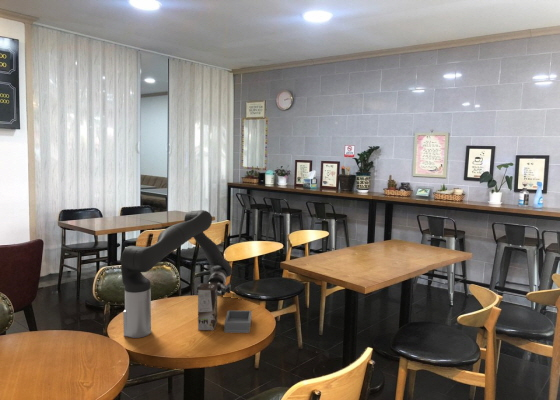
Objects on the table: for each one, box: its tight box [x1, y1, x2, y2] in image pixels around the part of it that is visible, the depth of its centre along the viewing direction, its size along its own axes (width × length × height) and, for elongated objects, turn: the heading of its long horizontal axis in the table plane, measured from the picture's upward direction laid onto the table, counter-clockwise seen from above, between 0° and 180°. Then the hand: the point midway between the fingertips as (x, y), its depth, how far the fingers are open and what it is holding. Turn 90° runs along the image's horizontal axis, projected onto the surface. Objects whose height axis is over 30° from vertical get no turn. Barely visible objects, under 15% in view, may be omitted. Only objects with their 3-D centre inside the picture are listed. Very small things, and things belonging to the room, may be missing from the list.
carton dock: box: [223, 309, 252, 334], centre depth 174 cm, size 10×13×4 cm
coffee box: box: [197, 282, 218, 331], centre depth 173 cm, size 9×6×16 cm
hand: (211, 293), depth 183 cm, fingers open, 8 cm apart
